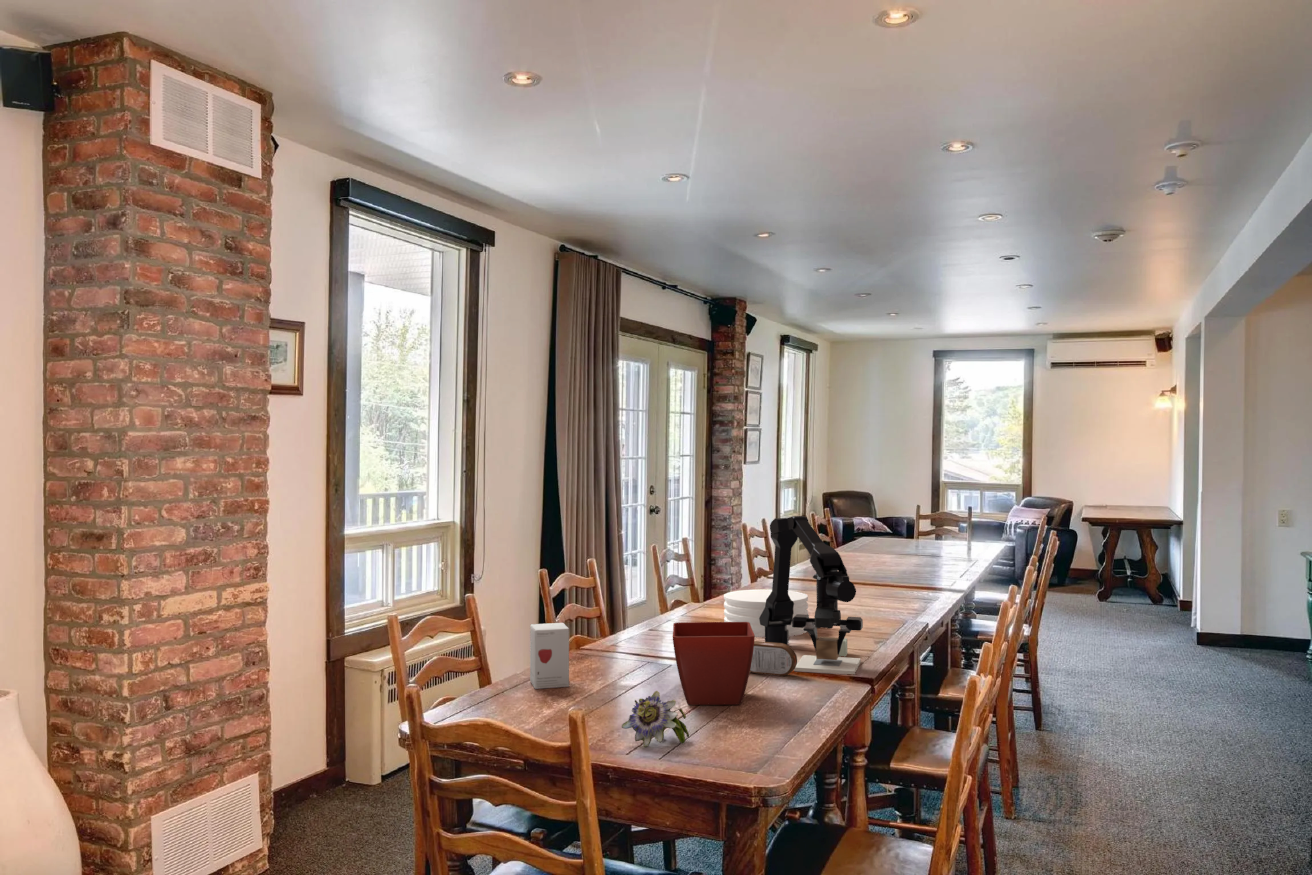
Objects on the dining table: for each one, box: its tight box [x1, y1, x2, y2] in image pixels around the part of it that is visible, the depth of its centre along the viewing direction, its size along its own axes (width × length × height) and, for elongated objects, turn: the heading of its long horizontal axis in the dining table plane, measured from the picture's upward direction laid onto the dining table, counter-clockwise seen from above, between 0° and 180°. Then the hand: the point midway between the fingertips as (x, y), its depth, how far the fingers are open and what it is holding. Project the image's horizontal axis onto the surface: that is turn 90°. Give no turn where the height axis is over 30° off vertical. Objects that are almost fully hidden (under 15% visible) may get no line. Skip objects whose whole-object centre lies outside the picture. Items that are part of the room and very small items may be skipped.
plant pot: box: [672, 621, 756, 706], centre depth 222 cm, size 19×19×17 cm
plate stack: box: [723, 588, 809, 638], centre depth 310 cm, size 28×28×12 cm
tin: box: [750, 640, 798, 677], centre depth 246 cm, size 15×3×8 cm, turn 65°
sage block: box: [839, 637, 848, 658], centre depth 269 cm, size 4×4×4 cm
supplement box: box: [529, 622, 570, 690], centre depth 238 cm, size 9×9×15 cm
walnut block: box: [815, 636, 840, 660], centre depth 254 cm, size 6×6×5 cm
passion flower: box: [621, 690, 690, 748], centre depth 190 cm, size 11×11×12 cm
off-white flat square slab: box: [793, 654, 861, 676], centre depth 254 cm, size 16×16×1 cm
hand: (827, 653), depth 254 cm, fingers closed on walnut block, 5 cm apart
